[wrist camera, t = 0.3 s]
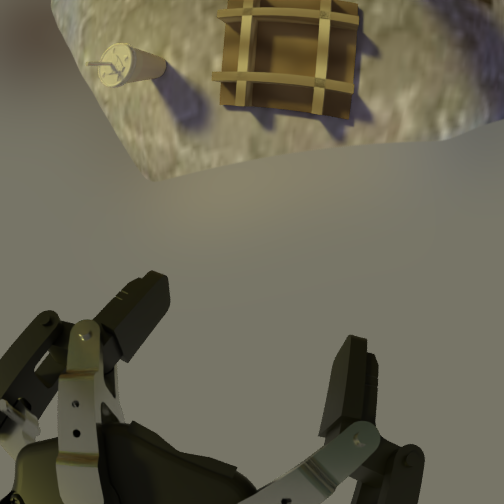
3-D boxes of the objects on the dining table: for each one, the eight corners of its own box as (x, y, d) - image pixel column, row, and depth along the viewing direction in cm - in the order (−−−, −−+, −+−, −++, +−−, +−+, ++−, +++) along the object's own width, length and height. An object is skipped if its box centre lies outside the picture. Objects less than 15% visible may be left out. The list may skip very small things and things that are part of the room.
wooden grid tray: (231, -1, 25) (220, -10, 21) (357, 6, 21) (359, -5, 18) (222, 104, 34) (210, 105, 30) (348, 119, 30) (350, 120, 27)
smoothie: (151, 44, 30) (85, 36, 19) (180, 56, 31) (115, 46, 19) (135, 78, 34) (68, 82, 23) (162, 92, 34) (95, 97, 23)
